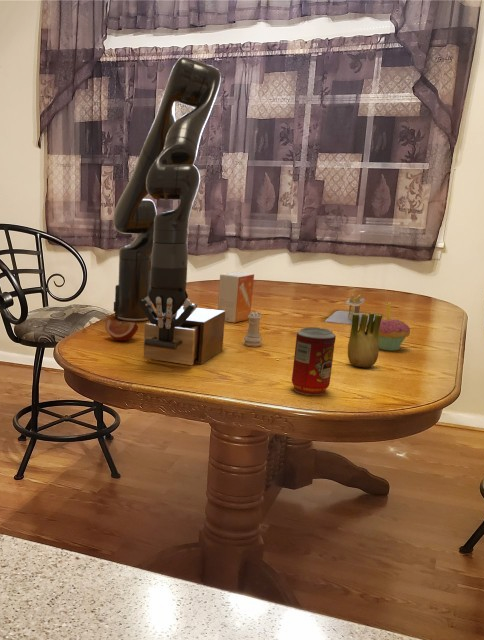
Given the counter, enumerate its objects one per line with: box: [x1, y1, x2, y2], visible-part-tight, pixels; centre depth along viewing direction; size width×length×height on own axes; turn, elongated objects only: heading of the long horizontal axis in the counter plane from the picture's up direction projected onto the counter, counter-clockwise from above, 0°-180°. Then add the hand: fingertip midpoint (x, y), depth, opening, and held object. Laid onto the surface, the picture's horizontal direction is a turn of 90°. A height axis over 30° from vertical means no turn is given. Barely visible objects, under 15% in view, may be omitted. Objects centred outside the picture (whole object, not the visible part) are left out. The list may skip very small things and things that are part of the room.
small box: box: [217, 271, 255, 323], centre depth 195 cm, size 8×6×13 cm
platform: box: [325, 293, 377, 327], centre depth 198 cm, size 12×18×7 cm, turn 148°
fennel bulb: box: [347, 311, 383, 369], centre depth 150 cm, size 6×5×12 cm
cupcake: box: [379, 299, 411, 352], centre depth 164 cm, size 9×8×12 cm
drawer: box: [143, 322, 201, 366], centre depth 154 cm, size 18×11×8 cm, turn 149°
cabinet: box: [175, 305, 226, 365], centre depth 160 cm, size 15×13×10 cm
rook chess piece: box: [243, 311, 263, 348], centre depth 168 cm, size 4×4×8 cm
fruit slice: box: [104, 318, 139, 342], centre depth 173 cm, size 8×7×5 cm
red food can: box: [291, 326, 336, 396], centre depth 133 cm, size 7×7×12 cm
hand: (165, 344), depth 148 cm, fingers closed
